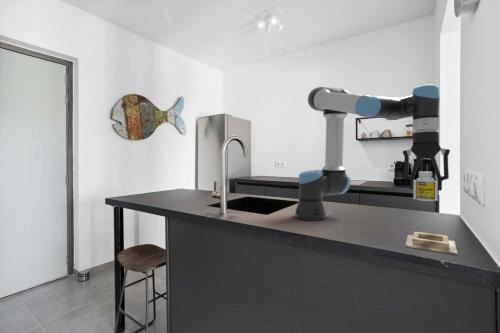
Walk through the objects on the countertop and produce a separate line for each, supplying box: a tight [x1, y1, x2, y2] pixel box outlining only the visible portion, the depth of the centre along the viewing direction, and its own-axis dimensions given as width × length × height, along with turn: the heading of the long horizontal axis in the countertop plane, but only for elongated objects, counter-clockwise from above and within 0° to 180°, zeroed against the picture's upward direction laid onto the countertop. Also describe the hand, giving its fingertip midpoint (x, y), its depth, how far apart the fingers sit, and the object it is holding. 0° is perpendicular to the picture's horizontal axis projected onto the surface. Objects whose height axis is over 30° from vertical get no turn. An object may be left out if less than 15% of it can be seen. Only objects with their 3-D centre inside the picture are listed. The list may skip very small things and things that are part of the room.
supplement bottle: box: [415, 171, 436, 202], centre depth 92 cm, size 5×5×10 cm
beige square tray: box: [404, 231, 458, 256], centre depth 92 cm, size 14×14×2 cm
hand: (425, 199), depth 92 cm, fingers closed on supplement bottle, 5 cm apart
